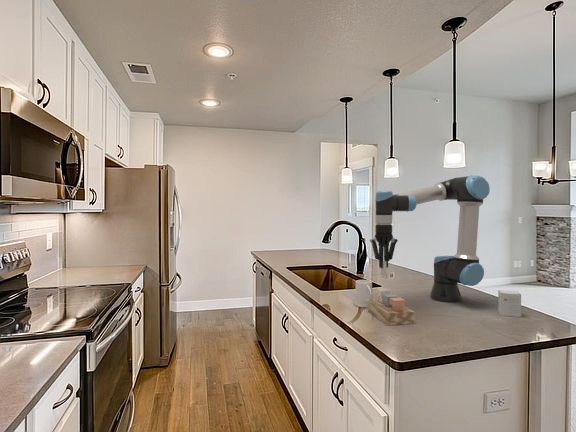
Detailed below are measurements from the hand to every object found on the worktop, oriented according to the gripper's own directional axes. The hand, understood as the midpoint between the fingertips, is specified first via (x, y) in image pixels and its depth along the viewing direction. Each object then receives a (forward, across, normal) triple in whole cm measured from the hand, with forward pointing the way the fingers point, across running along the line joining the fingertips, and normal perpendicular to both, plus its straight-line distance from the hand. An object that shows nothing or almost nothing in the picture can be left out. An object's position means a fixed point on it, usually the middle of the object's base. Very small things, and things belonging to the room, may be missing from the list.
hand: (383, 274), depth 164 cm
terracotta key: (+15, 0, +13) cm, 20 cm away
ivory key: (+14, 0, 0) cm, 14 cm away
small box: (+18, -55, +14) cm, 59 cm away
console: (+18, 0, +6) cm, 19 cm away
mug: (+18, +4, -12) cm, 22 cm away
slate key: (+15, 0, +7) cm, 16 cm away
